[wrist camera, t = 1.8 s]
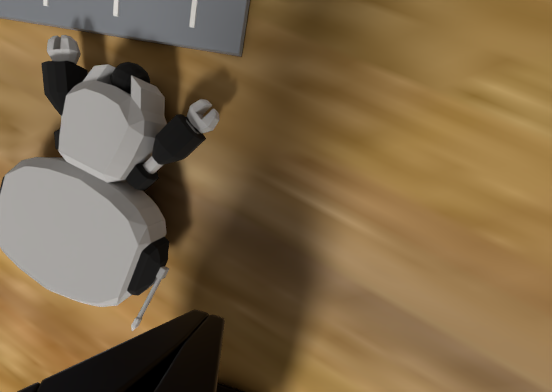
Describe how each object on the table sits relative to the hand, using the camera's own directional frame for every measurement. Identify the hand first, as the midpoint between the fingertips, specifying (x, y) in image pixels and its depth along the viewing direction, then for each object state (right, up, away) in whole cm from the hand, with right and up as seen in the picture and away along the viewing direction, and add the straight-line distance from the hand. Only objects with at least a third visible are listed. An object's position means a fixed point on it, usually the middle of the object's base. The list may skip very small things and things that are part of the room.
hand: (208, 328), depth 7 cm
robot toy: (-9, +5, +12) cm, 16 cm away
